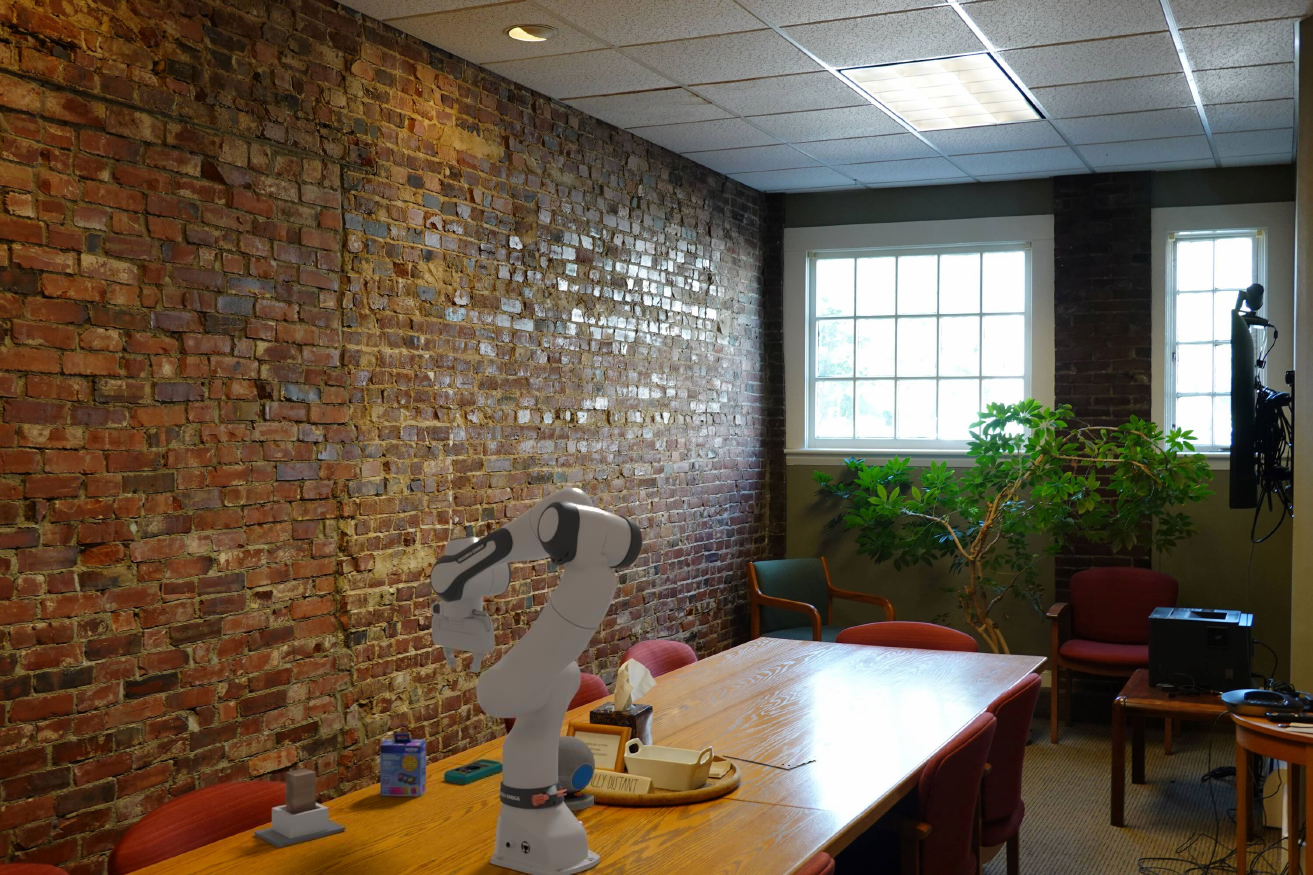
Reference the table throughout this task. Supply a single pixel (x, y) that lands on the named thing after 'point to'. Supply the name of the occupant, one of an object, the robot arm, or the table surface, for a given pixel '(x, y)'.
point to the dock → (298, 826)
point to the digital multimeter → (473, 771)
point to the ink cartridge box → (402, 767)
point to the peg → (300, 791)
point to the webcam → (575, 771)
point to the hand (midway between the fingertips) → (463, 668)
